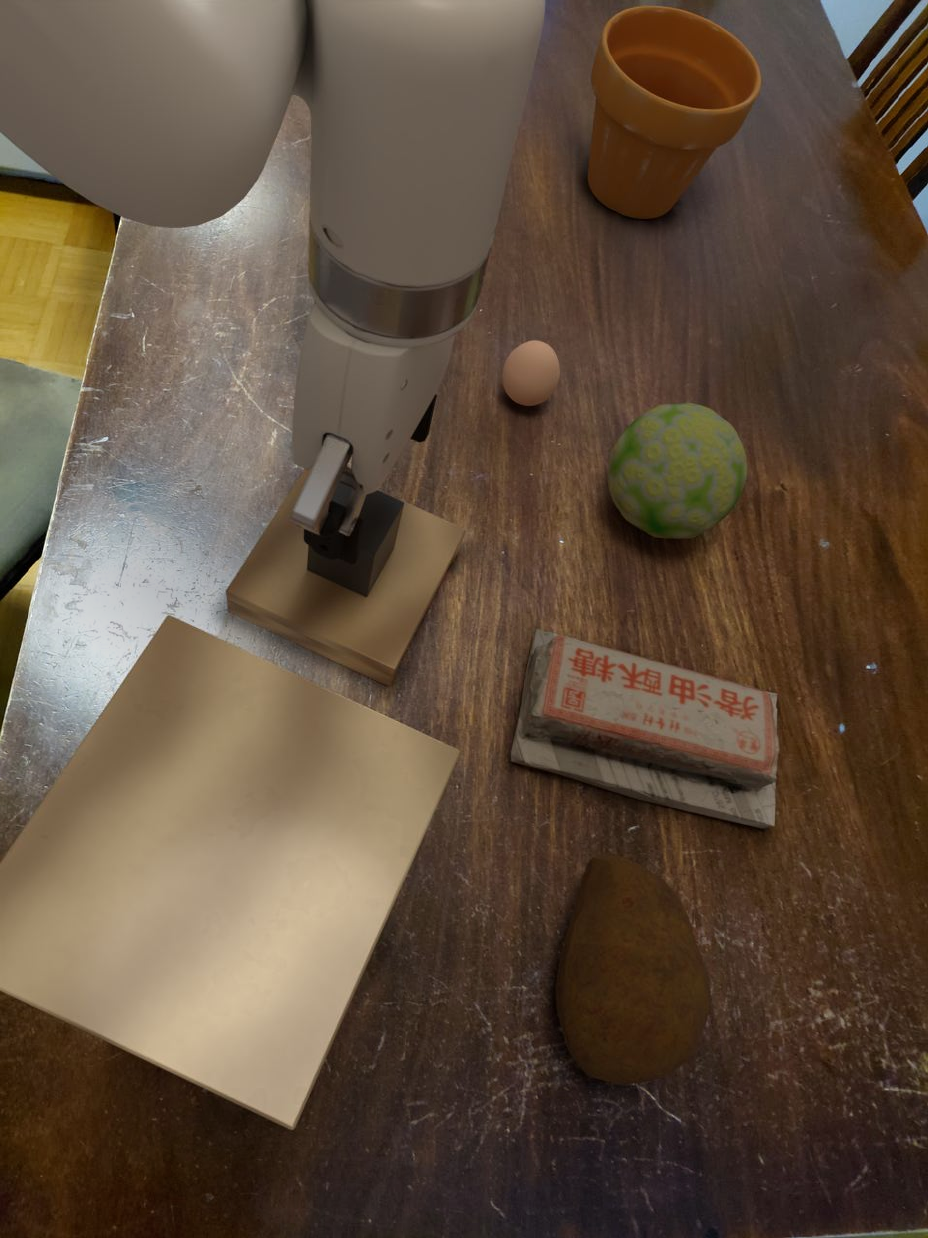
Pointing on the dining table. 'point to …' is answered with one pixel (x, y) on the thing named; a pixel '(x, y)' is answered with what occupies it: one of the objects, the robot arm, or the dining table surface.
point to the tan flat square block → (345, 591)
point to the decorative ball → (677, 470)
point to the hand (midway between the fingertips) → (368, 487)
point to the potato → (630, 976)
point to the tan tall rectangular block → (218, 868)
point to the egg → (531, 373)
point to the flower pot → (663, 105)
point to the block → (363, 542)
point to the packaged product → (649, 730)
